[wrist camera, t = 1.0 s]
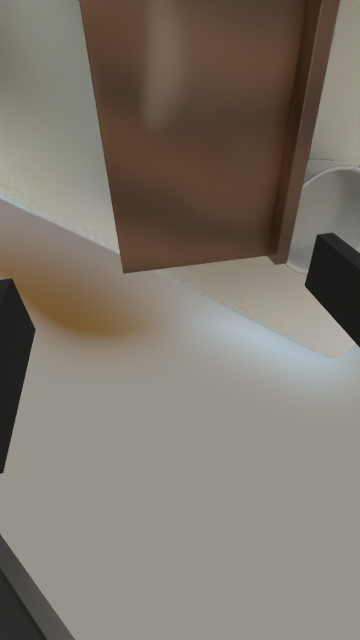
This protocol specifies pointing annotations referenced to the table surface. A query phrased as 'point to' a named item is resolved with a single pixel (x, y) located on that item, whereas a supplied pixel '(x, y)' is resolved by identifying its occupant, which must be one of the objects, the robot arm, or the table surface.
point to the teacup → (325, 209)
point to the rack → (206, 122)
